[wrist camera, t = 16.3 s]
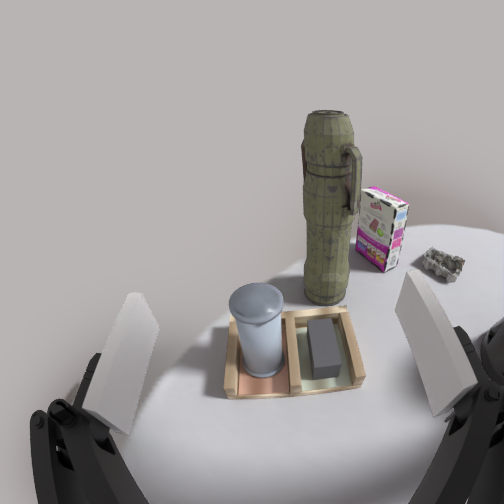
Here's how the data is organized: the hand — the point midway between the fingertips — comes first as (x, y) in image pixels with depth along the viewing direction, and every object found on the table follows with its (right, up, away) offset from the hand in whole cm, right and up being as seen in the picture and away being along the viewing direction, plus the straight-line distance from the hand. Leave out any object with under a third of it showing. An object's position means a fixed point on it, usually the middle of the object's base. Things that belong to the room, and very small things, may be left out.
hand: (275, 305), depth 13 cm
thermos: (+14, -6, +42) cm, 44 cm away
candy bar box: (+29, +1, +48) cm, 56 cm away
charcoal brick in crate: (+10, -14, +28) cm, 33 cm away
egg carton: (+45, -2, +41) cm, 61 cm away
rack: (+6, -15, +30) cm, 34 cm away
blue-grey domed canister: (+1, -15, +29) cm, 32 cm away
